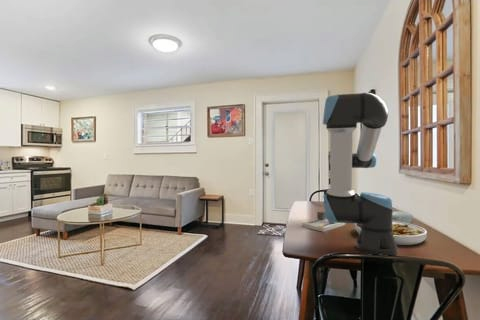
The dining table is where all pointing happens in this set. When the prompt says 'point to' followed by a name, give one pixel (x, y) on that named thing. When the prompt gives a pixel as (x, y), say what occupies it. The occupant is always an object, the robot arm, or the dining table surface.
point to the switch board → (321, 225)
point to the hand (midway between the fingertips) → (336, 219)
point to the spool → (402, 217)
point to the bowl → (404, 233)
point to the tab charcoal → (321, 215)
